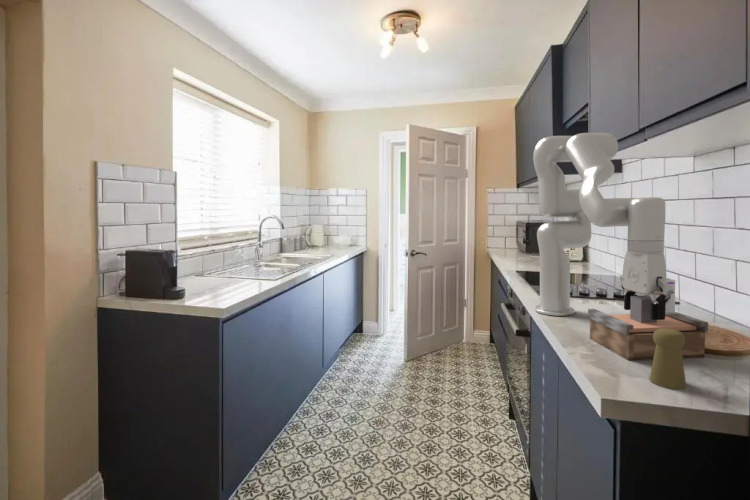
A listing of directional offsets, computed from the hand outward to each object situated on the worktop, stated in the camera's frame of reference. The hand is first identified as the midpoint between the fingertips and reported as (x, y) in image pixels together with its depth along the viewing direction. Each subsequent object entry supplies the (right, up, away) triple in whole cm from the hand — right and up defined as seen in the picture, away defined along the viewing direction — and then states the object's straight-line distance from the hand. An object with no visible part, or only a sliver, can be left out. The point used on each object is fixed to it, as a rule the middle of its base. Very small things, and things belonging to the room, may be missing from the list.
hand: (643, 314), depth 98 cm
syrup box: (+17, -7, +18) cm, 26 cm away
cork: (-8, -11, -19) cm, 24 cm away
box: (0, -9, +1) cm, 9 cm away
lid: (0, -3, 0) cm, 3 cm away
